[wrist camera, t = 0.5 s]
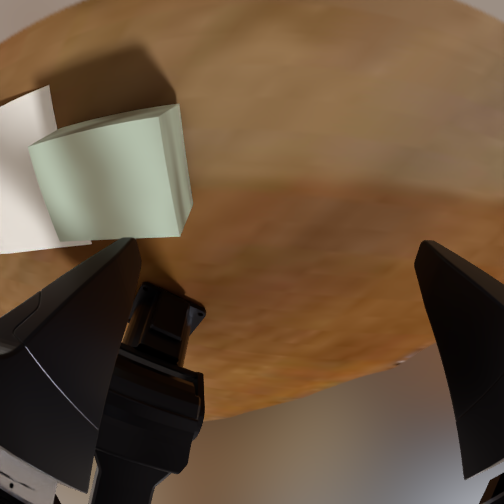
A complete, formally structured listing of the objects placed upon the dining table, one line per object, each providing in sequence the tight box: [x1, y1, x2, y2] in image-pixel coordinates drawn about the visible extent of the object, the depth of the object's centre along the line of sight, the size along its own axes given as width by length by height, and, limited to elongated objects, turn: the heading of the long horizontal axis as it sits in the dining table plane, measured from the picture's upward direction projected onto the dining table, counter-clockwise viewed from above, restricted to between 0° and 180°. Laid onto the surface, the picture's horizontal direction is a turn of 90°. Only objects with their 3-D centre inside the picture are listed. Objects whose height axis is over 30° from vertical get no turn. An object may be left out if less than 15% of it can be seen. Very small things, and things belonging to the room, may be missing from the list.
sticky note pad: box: [28, 104, 193, 242], centre depth 17 cm, size 9×7×5 cm
